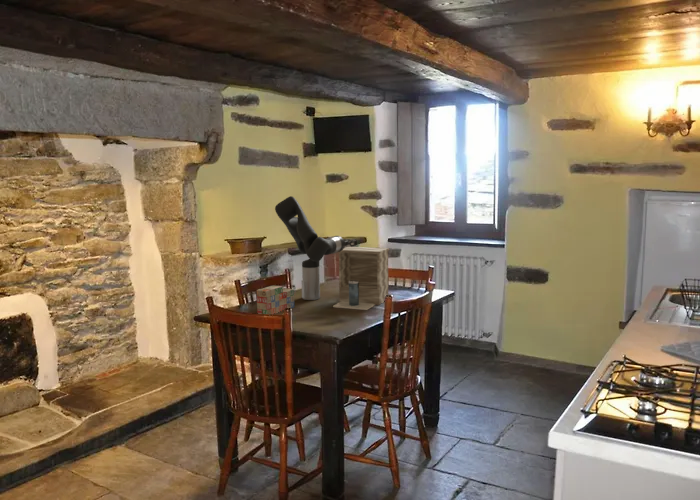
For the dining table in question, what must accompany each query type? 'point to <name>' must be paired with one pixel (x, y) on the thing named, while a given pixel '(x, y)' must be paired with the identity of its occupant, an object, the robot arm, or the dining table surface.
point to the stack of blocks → (274, 299)
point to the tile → (361, 306)
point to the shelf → (364, 273)
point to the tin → (353, 292)
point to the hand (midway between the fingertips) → (347, 241)
